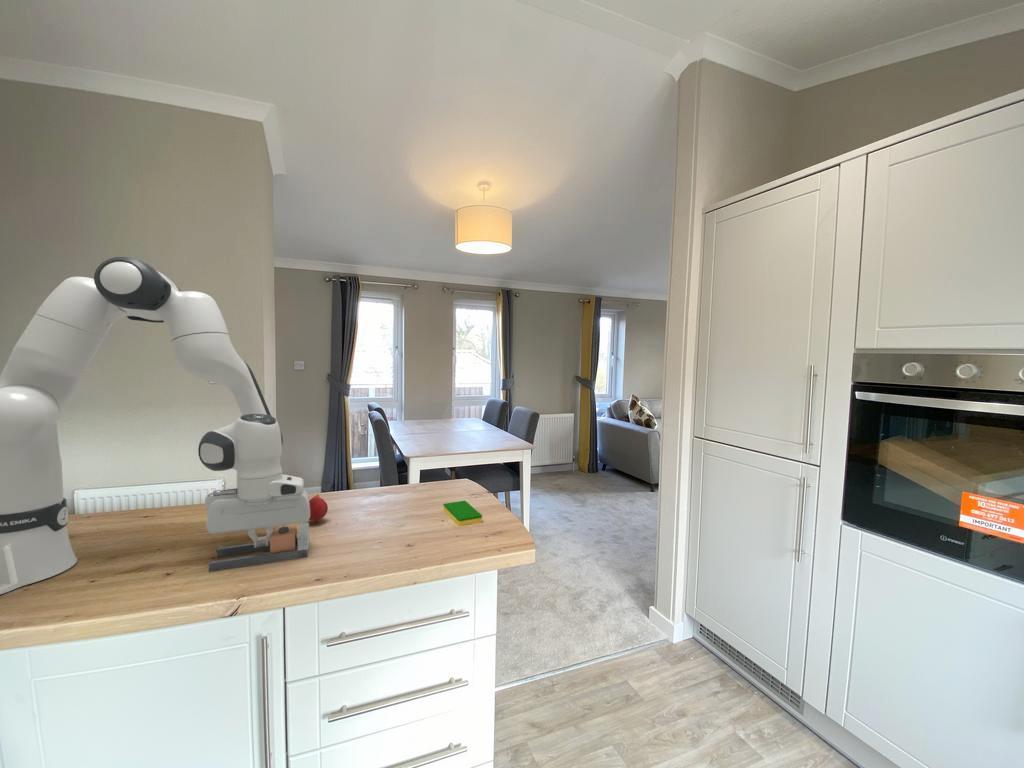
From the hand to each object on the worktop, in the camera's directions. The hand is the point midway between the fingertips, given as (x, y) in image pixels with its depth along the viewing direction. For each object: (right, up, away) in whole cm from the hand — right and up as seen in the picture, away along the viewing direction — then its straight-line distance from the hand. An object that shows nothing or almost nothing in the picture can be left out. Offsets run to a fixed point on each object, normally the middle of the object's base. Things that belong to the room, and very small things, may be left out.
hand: (261, 545), depth 96 cm
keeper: (+4, -2, +2) cm, 5 cm away
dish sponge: (+42, -2, +27) cm, 50 cm away
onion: (+3, -2, +20) cm, 20 cm away
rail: (0, -3, 0) cm, 3 cm away
